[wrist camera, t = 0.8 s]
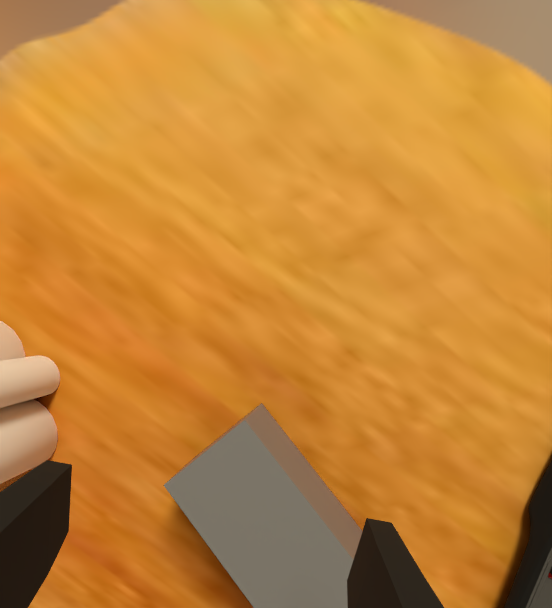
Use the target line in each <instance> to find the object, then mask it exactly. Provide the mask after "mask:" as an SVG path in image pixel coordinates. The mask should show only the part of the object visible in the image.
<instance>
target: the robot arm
mask: <svg viewBox="0 0 552 608" xmlns="http://www.w3.org/2000/svg"><path fill="white" fill-rule="evenodd" d="M71 471H72V465H70V464H65V463H59V462H54V461H48V460H46V461H45V462H43V463H41V464H40V465H39V466H37V467H36V468H34V469H33V470H31V471H30V472H28V473H27V474H26V475H24V476H23V477H21V478H20V479H18V480H17V481H16V482H14V483H13V484H11V485H10V486H9V487H7V488H6V489H4V490H3V491H1V492H0V608H28V606H29V605H30V603H31V601H32V600H33V598H34V596H35V595H36V593H37V592H38V590H39V588H40V587H41V585H42V583H43V582H44V580H45V578H46V577H47V575H48V573H49V571H50V569H51V567H52V565H53V563H54V561H55V559H56V557H57V555H58V552H59V550H60V548H61V546H62V544H63V542H64V540H65V537H66V535H67V533H68V531H69V511H70V491H71ZM347 601H348V608H444V607H443V605H442V604H441V602H440V601H439V599H438V597H437V596H436V594H435V593H434V591H433V590H432V588H431V587H430V585H429V584H428V582H427V580H426V579H425V577H424V576H423V574H422V572H421V571H420V569H419V567H418V566H417V564H416V562H415V561H414V559H413V557H412V556H411V554H410V552H409V551H408V549H407V547H406V546H405V544H404V542H403V541H402V539H401V537H400V536H399V534H398V532H397V531H396V529H395V527H394V526H393V524H392V523H390V522H385V521H379V520H374V519H368V518H367V519H366V522H365V525H364V529H363V532H362V535H361V538H360V541H359V544H358V547H357V551H356V554H355V557H354V560H353V563H352V566H351V569H350V573H349V576H348V579H347Z"/></svg>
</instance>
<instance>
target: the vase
mask: <svg viewBox="0 0 552 608" xmlns="http://www.w3.org/2000/svg"><path fill="white" fill-rule="evenodd" d="M59 382H60V373H59V370H58V368H57V366H56V365H55V363H54V362H53V361H52V360H51V359H49V358H48V357H45V356H30V357H25V352H24V349H23V346H22V343H21V340H20V339H19V337H18V336H17V335H16V333H15V332H14V330H13V329H12V328H10V327H9V326H8V325H6V324H5V323H3V322H2V321H0V484H1V483H3V482H5V481H7V480H10V479H12V478H14V477H16V476H18V475H20V474H22V473H24V472H26V471H28V470H30V469H32V468H34V467H36V466H38V465H40V464H41V463H43V462H45V461H46V460H48V459H49V458H50V457H51V456H52V454H53V453H54V451H55V449H56V446H57V441H58V434H57V427H56V424H55V421H54V419H53V417H52V415H51V414H50V412H49V411H48V410H47V408H46V407H44V406H43V405H42V404H41V403H39V402H38V401H36V400H34V399H35V398H38V397H42V396H46V395H49V394H52V393H53V392H54V391H56V389H57V388H58V386H59Z"/></svg>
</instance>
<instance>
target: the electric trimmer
mask: <svg viewBox="0 0 552 608" xmlns="http://www.w3.org/2000/svg"><path fill="white" fill-rule="evenodd" d="M529 515H530V525H531V529H530V537H529V542H528V545H527V548H526V551H525V553H524V556H523V559H522V561H521V564H520V567H519V569H518V572H517V575H516V577H515V580H514V583H513V585H512V588H511V591H510V594H509V596H508V599H507V602H506V604H505V607H504V608H552V461H551V463H550V465H549V467H548V468H547V470H546V472H545V474H544V476H543V478H542V480H541V482H540V484H539V486H538V488H537V490H536V492H535V494H534V496H533V498H532V500H531V502H530V505H529Z"/></svg>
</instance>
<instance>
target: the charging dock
mask: <svg viewBox="0 0 552 608" xmlns="http://www.w3.org/2000/svg"><path fill="white" fill-rule="evenodd" d="M164 486H165V488H166V489H167V490H168V492H169V493H170V494H171V496H172V497H173V499H174V500H175V501H176V503H177V504H178V505H179V507H180V508H181V509H182V511H183V512H184V514H185V515H186V516H187V518H188V519H189V520H190V522H191V523H192V524H193V526H194V527H195V528H196V530H197V531H198V533H199V534H200V535H201V537H202V538H203V539H204V541H205V542H206V543H207V545H208V546H209V548H210V549H211V550H212V552H213V553H214V554H215V556H216V557H217V558H218V560H219V561H220V563H221V564H222V565H223V567H224V568H225V569H226V571H227V572H228V573H229V575H230V576H231V577H232V579H233V580H234V582H235V583H236V584H237V586H238V587H239V588H240V590H241V591H242V592H243V594H244V595H245V597H246V598H247V599H248V601H249V602H250V603H251V605H252V606H253V607H254V608H348V601H347V579H348V576H349V573H350V569H351V566H352V563H353V560H354V557H355V554H356V551H357V547H358V544H359V541H360V538H361V535H362V532H363V531H362V530H361V529H360V528H359V526H358V525H357V524H356V523H355V521H354V520H353V519H352V517H351V516H350V515H349V514H348V512H347V511H346V510H345V509H344V507H343V506H342V505H341V503H340V502H339V501H338V500H337V498H336V497H335V496H334V495H333V493H332V492H331V491H330V489H329V488H328V487H327V486H326V484H325V483H324V482H323V481H322V479H321V478H320V477H319V475H318V474H317V473H316V472H315V470H314V469H313V468H312V467H311V465H310V464H309V463H308V461H307V460H306V459H305V458H304V456H303V455H302V454H301V453H300V451H299V450H298V449H297V447H296V446H295V445H294V444H293V442H292V441H291V440H290V439H289V437H288V436H287V435H286V433H285V432H284V431H283V430H282V428H281V427H280V426H279V425H278V423H277V422H276V421H275V419H274V418H273V417H272V416H271V414H270V413H269V412H268V411H267V409H266V408H265V407H264V405H263V404H262V403H261V404H260V405H259V406H257V407H256V408H255V409H254V410H253V411H251V412H250V413H249V414H248V415H246V416H245V417H244V418H243V419H241V420H240V421H239V422H238V423H237V424H235V425H234V426H233V427H232V428H230V429H229V430H228V431H227V432H225V433H224V434H223V435H222V436H220V437H219V438H218V439H217V440H216V441H214V442H213V443H212V444H211V445H209V446H208V447H207V448H206V449H204V450H203V451H202V452H201V453H200V454H198V455H197V456H196V457H195V458H193V459H192V460H191V461H190V462H189V463H188V464H187V465H185V466H184V467H183V468H182V469H181V470H180V471H179V472H178V473H177V474H176V475H174V476H173V477H172V478H171V479H170V480H169V481H168V482H167V483H166V484H164Z"/></svg>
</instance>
